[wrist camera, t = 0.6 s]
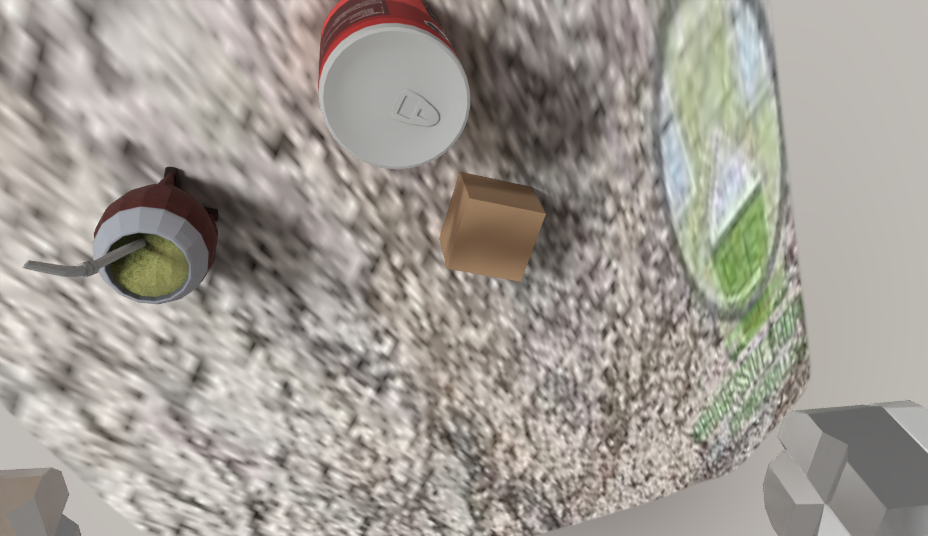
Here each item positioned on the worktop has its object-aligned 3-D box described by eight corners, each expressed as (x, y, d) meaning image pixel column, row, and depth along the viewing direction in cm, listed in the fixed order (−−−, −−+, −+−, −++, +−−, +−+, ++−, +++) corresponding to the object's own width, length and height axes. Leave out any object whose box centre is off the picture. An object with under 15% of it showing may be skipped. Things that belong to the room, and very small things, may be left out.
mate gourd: (221, 258, 54) (188, 393, 42) (102, 246, 52) (30, 383, 40) (227, 162, 51) (194, 278, 38) (100, 145, 49) (21, 261, 36)
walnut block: (459, 171, 54) (469, 198, 50) (531, 186, 55) (546, 214, 51) (439, 237, 56) (446, 268, 53) (508, 250, 58) (520, 281, 54)
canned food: (432, 113, 51) (456, 179, 42) (313, 94, 49) (309, 159, 40) (456, -3, 48) (487, 41, 38) (327, -28, 46) (327, 12, 36)
